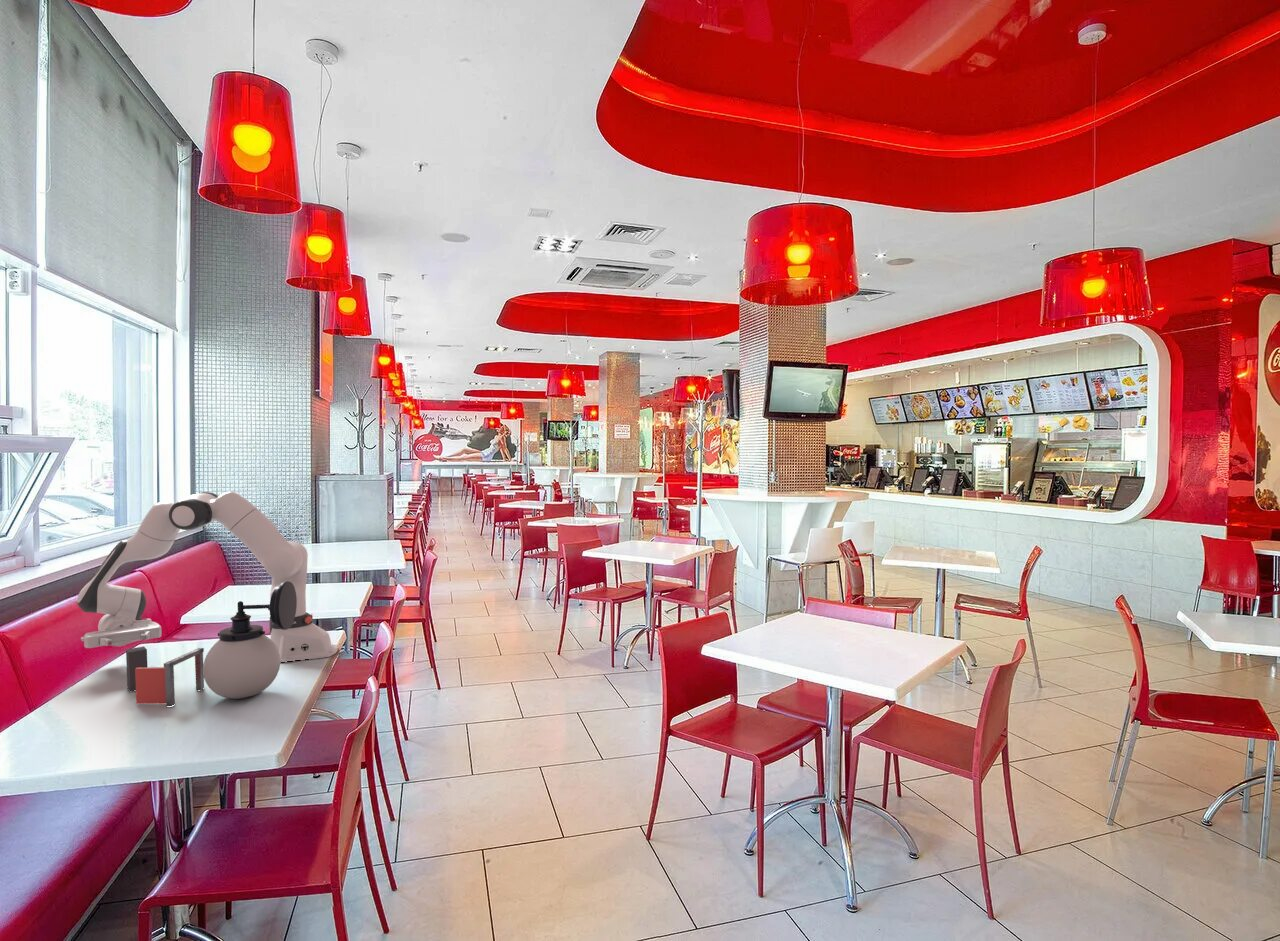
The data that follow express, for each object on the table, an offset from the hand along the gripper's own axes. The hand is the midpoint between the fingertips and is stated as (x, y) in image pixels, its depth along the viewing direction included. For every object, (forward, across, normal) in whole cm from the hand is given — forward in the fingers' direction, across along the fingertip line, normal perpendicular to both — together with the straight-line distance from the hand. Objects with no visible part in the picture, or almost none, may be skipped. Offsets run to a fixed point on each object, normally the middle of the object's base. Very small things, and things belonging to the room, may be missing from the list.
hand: (127, 640), depth 227 cm
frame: (+33, +9, +12) cm, 36 cm away
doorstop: (+12, 0, +12) cm, 18 cm away
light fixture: (+45, +22, +12) cm, 51 cm away
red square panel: (+33, +1, +12) cm, 35 cm away
